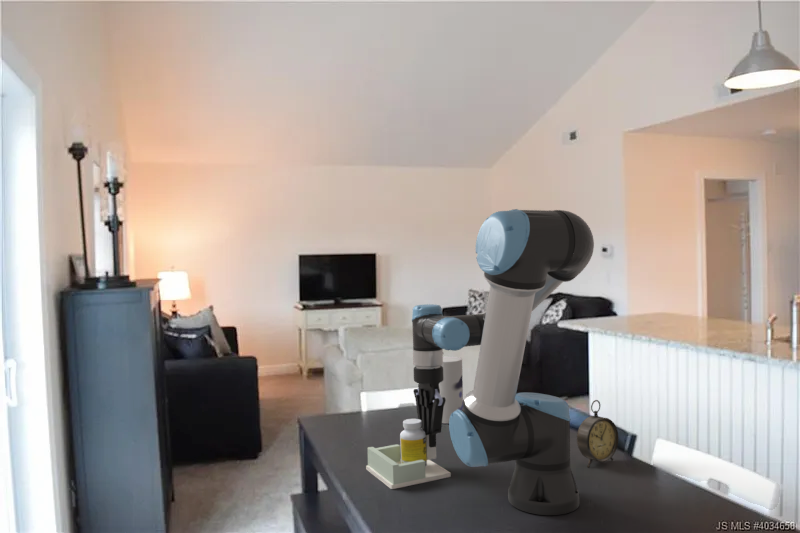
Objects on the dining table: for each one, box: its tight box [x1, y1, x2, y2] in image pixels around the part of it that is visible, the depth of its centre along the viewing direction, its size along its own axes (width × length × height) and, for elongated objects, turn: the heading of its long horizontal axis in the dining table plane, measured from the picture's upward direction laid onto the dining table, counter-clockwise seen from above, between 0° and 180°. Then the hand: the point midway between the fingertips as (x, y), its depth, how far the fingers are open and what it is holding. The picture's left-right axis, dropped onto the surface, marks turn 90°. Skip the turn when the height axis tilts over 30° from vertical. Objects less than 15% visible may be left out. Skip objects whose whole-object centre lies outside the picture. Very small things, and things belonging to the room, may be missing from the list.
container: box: [439, 355, 464, 425], centre depth 200 cm, size 10×10×20 cm
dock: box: [365, 444, 452, 490], centre depth 154 cm, size 15×16×6 cm
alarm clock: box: [576, 399, 619, 468], centre depth 157 cm, size 11×5×16 cm, turn 119°
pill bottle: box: [399, 418, 427, 467], centre depth 155 cm, size 6×6×12 cm
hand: (430, 458), depth 157 cm, fingers closed
